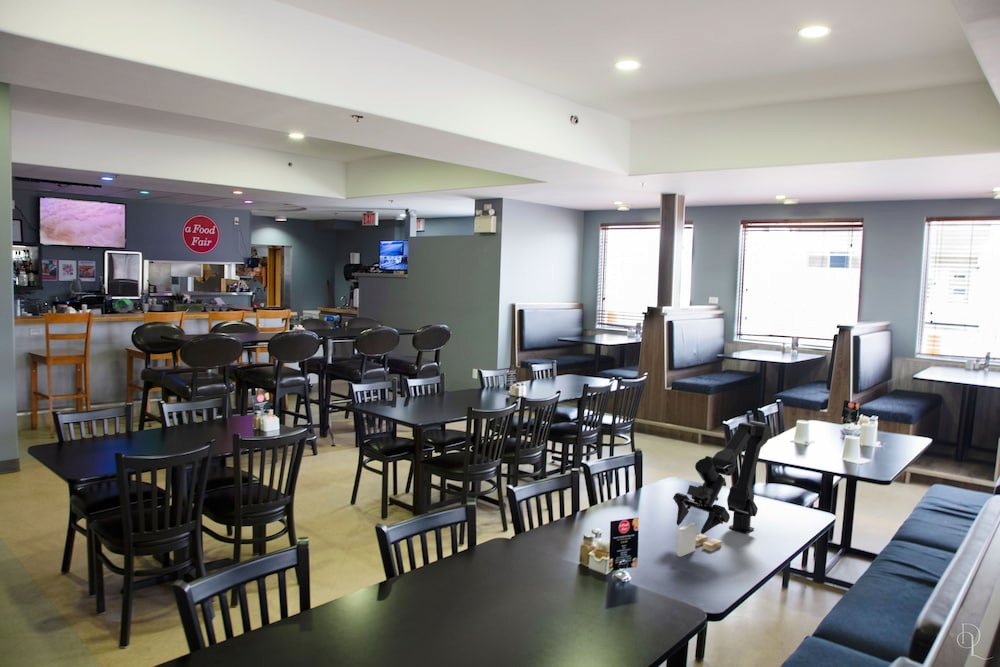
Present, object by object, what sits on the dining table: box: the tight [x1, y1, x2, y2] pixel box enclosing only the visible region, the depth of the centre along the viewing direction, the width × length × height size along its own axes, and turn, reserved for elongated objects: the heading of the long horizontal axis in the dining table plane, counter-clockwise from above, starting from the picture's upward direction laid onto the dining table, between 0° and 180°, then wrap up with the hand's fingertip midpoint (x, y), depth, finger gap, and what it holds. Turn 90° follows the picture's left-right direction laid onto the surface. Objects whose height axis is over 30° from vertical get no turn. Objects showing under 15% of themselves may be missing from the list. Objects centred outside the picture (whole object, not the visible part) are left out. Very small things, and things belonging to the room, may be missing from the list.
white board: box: [676, 522, 698, 558], centre depth 222 cm, size 8×1×9 cm, turn 130°
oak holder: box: [695, 533, 722, 552], centre depth 229 cm, size 6×8×2 cm
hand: (689, 529), depth 223 cm, fingers open, 9 cm apart
